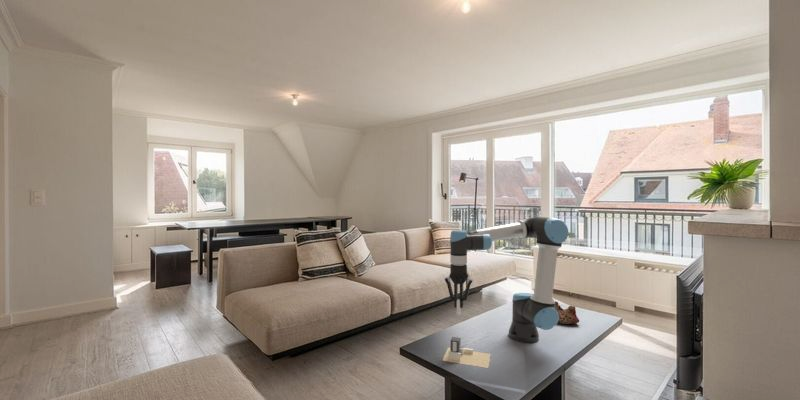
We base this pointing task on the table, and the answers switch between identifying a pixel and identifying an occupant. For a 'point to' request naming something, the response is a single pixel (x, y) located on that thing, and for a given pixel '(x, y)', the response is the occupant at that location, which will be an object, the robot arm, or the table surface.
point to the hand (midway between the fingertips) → (458, 314)
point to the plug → (455, 344)
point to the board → (468, 357)
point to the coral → (566, 314)
